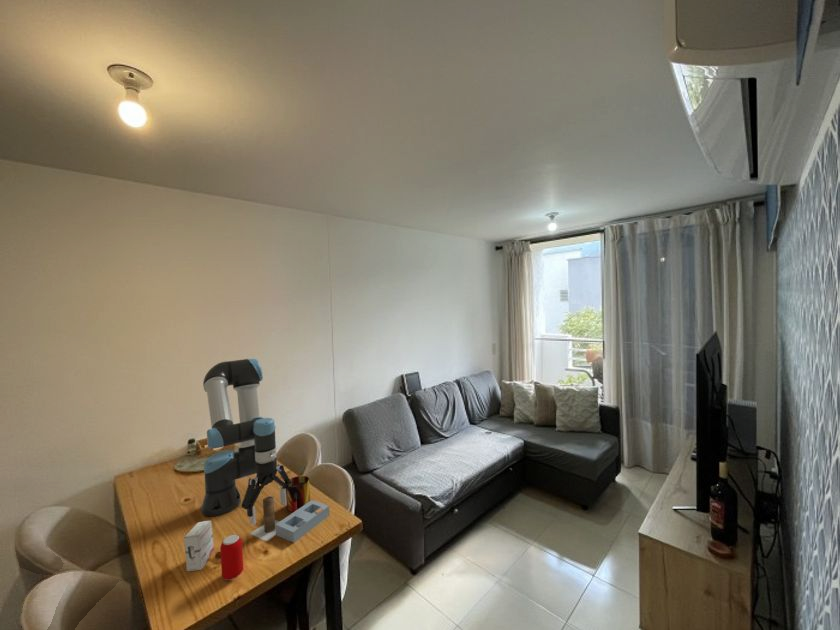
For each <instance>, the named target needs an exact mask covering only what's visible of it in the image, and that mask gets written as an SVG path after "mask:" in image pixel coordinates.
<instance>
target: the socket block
mask: <svg viewBox="0 0 840 630" xmlns="http://www.w3.org/2000/svg"><path fill="white" fill-rule="evenodd" d="M328 517H330V505H328V504H326V503H325V504H324V503H322V502H319V501H316V500H314V499H312V500H311V499H310V502H308V503H307V504H305V505H304V506H302V507H301V508H299V509H298V510H296V511H295V512H293V513H290V514H289V515H288V516H286V517H284V518H283V519H281V520H280V521H279V522H278V523H277V524H275V525H276V535H275V536H277V537H280V538H282V539H284V540H285V541H286V540H287V541H289V542H291V543H293V544H294V543H296V542H297V541H298V540H300V539H301V538H302V537H304V536H305V535H306V534H307V533H309V532H310V531H311V530H313V529H314V528H315V527H317V526H318V525H320V524H321V523H322V522H323V521H324V520H326V519H327V518H328Z"/></svg>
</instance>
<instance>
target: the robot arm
mask: <svg viewBox="0 0 840 630" xmlns="http://www.w3.org/2000/svg"><path fill="white" fill-rule="evenodd" d="M263 379H264V378H263V371H262V366H261V363H260V362H259V360H258V359H257V358H246V359H244V358H243V359H239V360H237V359H236V360H229V361H226V360H225V361H221V362H219V363H217V364H215V365H213V366H212V367H211V368H210V369H209V370H208V372H206V374H205V376H204V378H203V385H202V387H203V390H204V392H205V393H206V396H207V403H208V409H209V410H208V411H209V417H210V418H209V419H210V425H211V426H210V427H211V428H210V429H207V431H206V442H207V448H208V449H210V450H212V449H218V448H223V447H227V446H232V445H234V444H239V443H240V444H239V446H238V449H237V452H235V451H234V450H233V449H224V450H221V451H217V452H216V453H213V454H212V455H210V456H209V457H207V458H206V459H205V460H204V463H203V467H204V468H203V473H204V491H205V494H204V497H203V501H202V504H201V514H202V515H203V516H206V517H215V516H221V515H224V514H227V513H229V512H231V511H233V510H234V509H236V508H237V507H238V506H239V505H241V506H240V508H242V509H243V510H246V515H247V517H248V518H249V524H251V525H253V526H255V525H257V517H256V506H254V505H255V504H256V501H257V500H258V497H259V495H260V493H261V492H262V490H263V489H264V487H265V486H267V485H269V484H271V483H273V482H275V483H276V484H277V485H279V486H280V488H279V496H280V498H279V499H280V505H282V506H287V501H286V495H287V488H289V484H291V480H290V479H291V478H289V476H288V473H287V472H286V471H285V467H284V465H282V464H278V462H277V460H278V459H277V447H276V446H277V445H276V444H277V443H276V425H275V419H274V418H272V417H271V418H270V417H262V416H260V409H259V400H258V399H259V398H258V390H257V389H258V387H259V386H260V385H261V384H260V382H262V381H263ZM229 386H232V387H233V388H232V389H233V390H234V391H236V393H237V403H238V404H237V405H238V407H237V408H238V415H239V416H238V417H239V422H238V423H234V421H233V415H232V409H231V405H230V401H229V400H230V399H229V395H228V390H227V389H228V387H229ZM277 472H278V473H279V476H280V477H281V478H282V479H281V478H280V477H278V476H277ZM255 474H256V476H255V477H254V478H249V479H248V485H247V488H246V491H245V495H244V497H243V500H242V498H241V494H240V492H239V490H238V488H237V485H236V480H239V479H242V478H246V477H249V476H253V475H255ZM241 500H242V501H241ZM241 502H242V503H241Z"/></svg>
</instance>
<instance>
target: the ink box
mask: <svg viewBox="0 0 840 630" xmlns="http://www.w3.org/2000/svg"><path fill="white" fill-rule="evenodd" d="M213 537H214V536H213V525H212V520H205V521H199V522H197V523H196V524H195V525H194V526H193V527H192V529H190V531H189V532H188V533H187V534H185V536H183V540H184V541H183V542H184V549H185V550H184V551H185V553H184V554H185V563H186V572H195V571H201V570H202V569H203V568H204V567H205V565H206V564H207V563H208V562H209V558H210V556H211V555H212V553H214V550H215V547H214V538H213Z"/></svg>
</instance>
